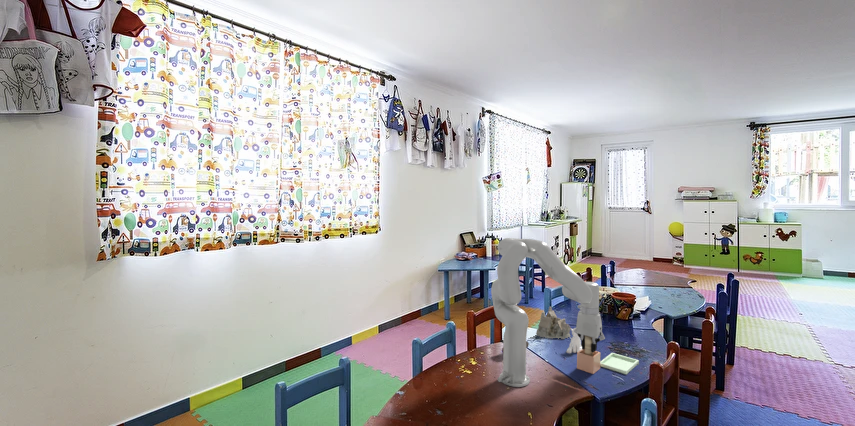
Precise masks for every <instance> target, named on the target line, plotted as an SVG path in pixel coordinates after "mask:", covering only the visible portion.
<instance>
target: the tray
mask: <svg viewBox="0 0 855 426" xmlns="http://www.w3.org/2000/svg"><path fill="white" fill-rule="evenodd" d="M638 365H639V366H640V360H638V359H636V358H632V357H629V356H625V355H621V354H617V353H614V352H610V354H608V355H607V356H605V357H604V358H603V359H602V360H600V368H601V367H602V368H604V369H607V370H610V371H614V372H616V373H620V374H623V375H626V376H627V375H628V374H629V373H630V372H631V371H633V370H634V368H636V366H638Z"/></svg>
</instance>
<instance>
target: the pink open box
mask: <svg viewBox="0 0 855 426" xmlns="http://www.w3.org/2000/svg"><path fill="white" fill-rule="evenodd" d="M600 361H601V352H600V351H597V350H596V351H595V352H593V356H589V355H586V354H585V349H584V350H583V349H582V350H580V351H579V352H577V351H576V369H577V370H581V371H584V372H586V373H589V374H592V375H594V374H596V372H598V371H599V370H600V369H601V367H600Z"/></svg>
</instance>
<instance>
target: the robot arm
mask: <svg viewBox="0 0 855 426" xmlns="http://www.w3.org/2000/svg"><path fill="white" fill-rule="evenodd" d="M497 251H498V254H500V256H501V258H500V260H499V262H498V264H497V269H496V270H497V272H496V273H497V279H495V280H494V281H493V283H492V284H491V289H490V290H491V291H490V293H491V300H492V305H493V310H494V315H495V317H496V318H497V320H499V322H500V323H502V324H503V325H505V330H504V332H503V338H502V340H503V343H502V344H503V347H502V348H503V352H502V355H503V356H502V358H503V359H502V363H503V366H502V372H501V373H500V374H499V377H497V379H496V380H497V382H498V383H502V384H504V385H506V386H509V387H513V388H520V387H522V388H523V387H526V386H528V385H529V384H530V382H531V381H530V380H531V378H530V376H528V374H527V348H526V341H527V333H528V330H529V329H528V328H529V321H530V320H529V317H528V314H527V313H526V311H525V310H524V309H522V308H521V307H519V306H518V304H520V302H521V301H522V290H521V285H520V278H519V268H520V265H521V263H522V262H523V261H524V260H525V259H526V258H529V259H531V260H534V262H535V263H536V264H537V265H538V266H539V267H540V269H542V270H543V272H544V273H545V274H546V275H547V276H548V277H549V278H550V279H552V280H553V281H555V282H556V283H559V284H560V285H561V286H562V288H561V291H562V294H563V296H564V297H565V298H567V299H570V300H572V301H574V302H577V303H579V304H578V305H577V308H578V309H579V311H578V313H577V317H576V325H575V328H576V329H575V330H574V332H575V333H576V334H577V335H578V336H579V337H580V340H581V346H582V349H583V350H584V349H585V336H589V337H592V340H593V343H592V344H591V352H595V351H597V349H598V347H597V346H598V343H599V342H601V341H605V339H606V336H605V335H604V333H603V325H602V315H601V313H600V310H599V309H600V306H599V305H600V285H599V284H598V283H597V282H593V281H585V280H584V279H583V278H582V277H580V275H578V274H577V273H576V272H574V271H573V269H571V268H570V267H569V266H567V265H566V264H565V263H564V262H563V261H562V259H561V258H560V257H559V256H558V255H557V254H556V253H555V251H553V249H552V248H551V247H550V245H548V243H546V242H544V241H543V240H537V239H534V238H533V239H532V238H512V237H511V238H510V237H506V238H503V239H501V240H500V241H499V242H498V244H497Z"/></svg>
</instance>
